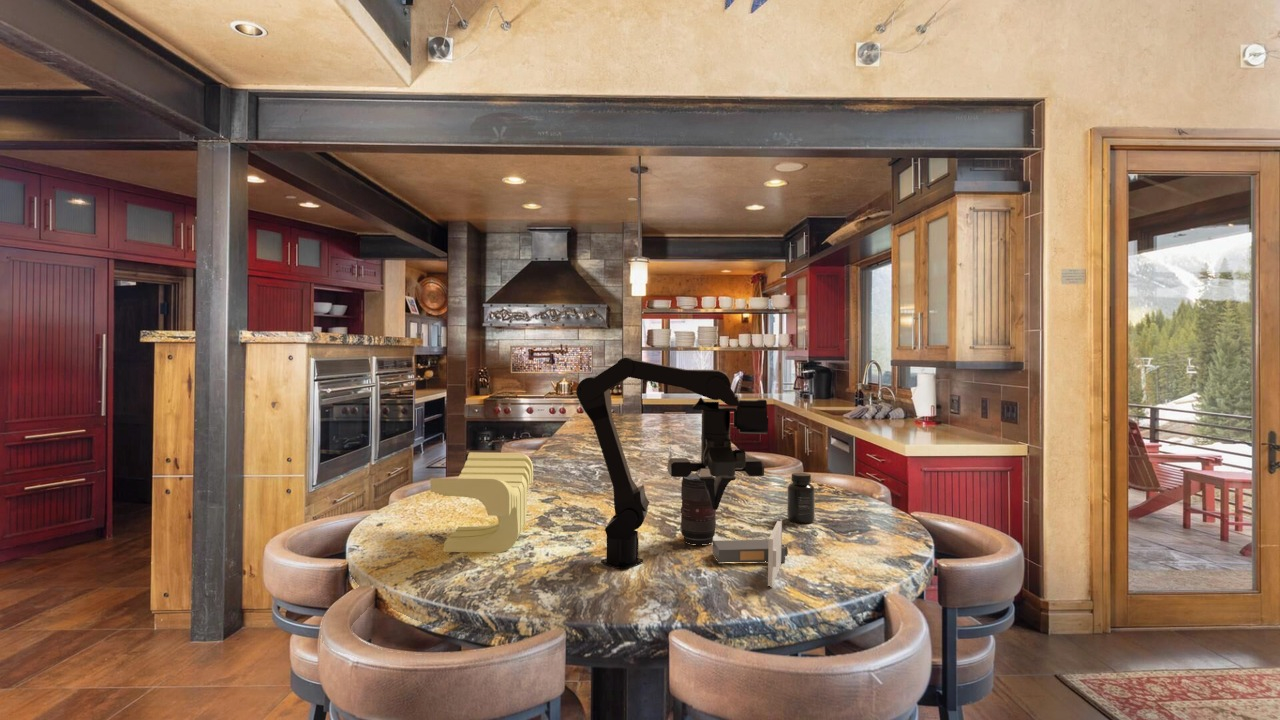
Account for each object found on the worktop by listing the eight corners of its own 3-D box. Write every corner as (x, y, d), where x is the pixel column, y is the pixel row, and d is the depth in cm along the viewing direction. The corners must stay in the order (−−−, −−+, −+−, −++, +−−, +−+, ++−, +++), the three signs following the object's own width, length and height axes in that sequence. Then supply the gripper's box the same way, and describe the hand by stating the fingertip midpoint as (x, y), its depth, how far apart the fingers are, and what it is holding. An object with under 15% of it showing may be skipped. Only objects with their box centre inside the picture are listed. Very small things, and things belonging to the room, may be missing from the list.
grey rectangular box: (718, 564, 130) (719, 550, 129) (712, 554, 136) (712, 540, 136) (790, 562, 131) (790, 548, 131) (781, 552, 137) (781, 539, 137)
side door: (775, 588, 117) (776, 538, 117) (767, 587, 118) (768, 537, 117) (784, 564, 130) (785, 519, 130) (777, 563, 131) (777, 518, 130)
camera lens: (714, 548, 140) (715, 481, 139) (678, 546, 141) (679, 479, 141) (717, 537, 148) (718, 474, 147) (683, 535, 149) (684, 472, 149)
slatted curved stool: (509, 566, 128) (509, 478, 127) (430, 565, 128) (430, 478, 127) (532, 523, 158) (533, 452, 157) (469, 523, 158) (469, 452, 157)
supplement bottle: (817, 519, 164) (818, 473, 163) (809, 525, 158) (810, 478, 158) (792, 515, 167) (792, 470, 167) (783, 521, 162) (784, 474, 161)
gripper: (675, 438, 118) (675, 521, 118) (773, 438, 120) (771, 519, 120) (667, 430, 129) (666, 506, 129) (756, 430, 131) (755, 504, 131)
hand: (714, 509), depth 127 cm, fingers closed
